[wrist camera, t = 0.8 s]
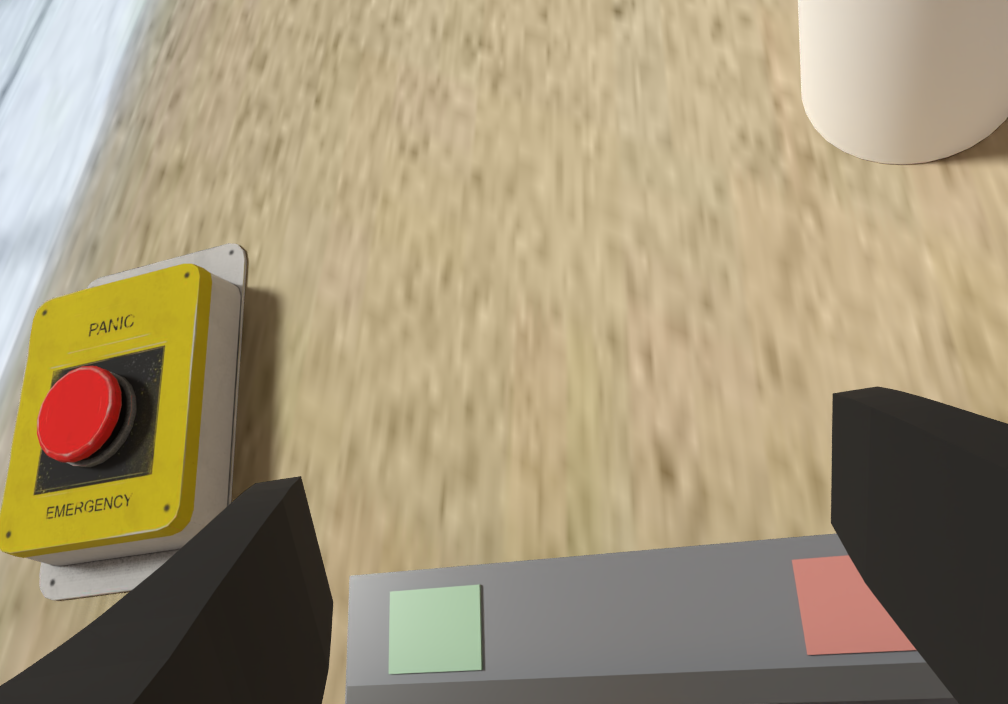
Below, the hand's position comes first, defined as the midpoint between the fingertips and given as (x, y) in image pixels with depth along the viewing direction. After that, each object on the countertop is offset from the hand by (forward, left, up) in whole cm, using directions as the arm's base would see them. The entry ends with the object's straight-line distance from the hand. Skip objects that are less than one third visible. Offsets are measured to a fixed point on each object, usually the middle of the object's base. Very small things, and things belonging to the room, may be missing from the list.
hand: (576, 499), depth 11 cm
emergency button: (+9, +23, -17) cm, 30 cm away
